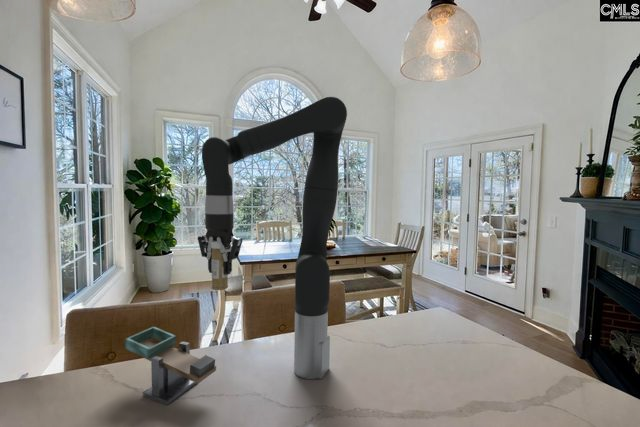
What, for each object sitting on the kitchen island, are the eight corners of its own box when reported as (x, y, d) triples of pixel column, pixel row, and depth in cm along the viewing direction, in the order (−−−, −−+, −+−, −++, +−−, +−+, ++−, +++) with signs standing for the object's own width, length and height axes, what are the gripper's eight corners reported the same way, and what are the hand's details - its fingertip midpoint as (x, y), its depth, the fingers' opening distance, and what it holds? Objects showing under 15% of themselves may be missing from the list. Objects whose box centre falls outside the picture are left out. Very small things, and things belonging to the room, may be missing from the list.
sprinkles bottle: (230, 289, 89) (230, 241, 88) (213, 291, 86) (213, 242, 85) (225, 285, 93) (225, 239, 92) (209, 287, 90) (209, 240, 89)
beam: (218, 368, 80) (220, 354, 79) (194, 386, 72) (196, 371, 72) (152, 338, 88) (153, 326, 88) (124, 352, 81) (125, 338, 80)
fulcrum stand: (198, 382, 84) (198, 344, 83) (167, 405, 74) (166, 363, 74) (175, 375, 87) (175, 339, 86) (142, 396, 78) (142, 356, 77)
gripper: (249, 212, 89) (249, 273, 90) (208, 210, 94) (208, 268, 95) (232, 213, 82) (232, 279, 83) (189, 211, 87) (189, 273, 88)
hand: (219, 273), depth 89 cm, fingers closed on sprinkles bottle, 4 cm apart
